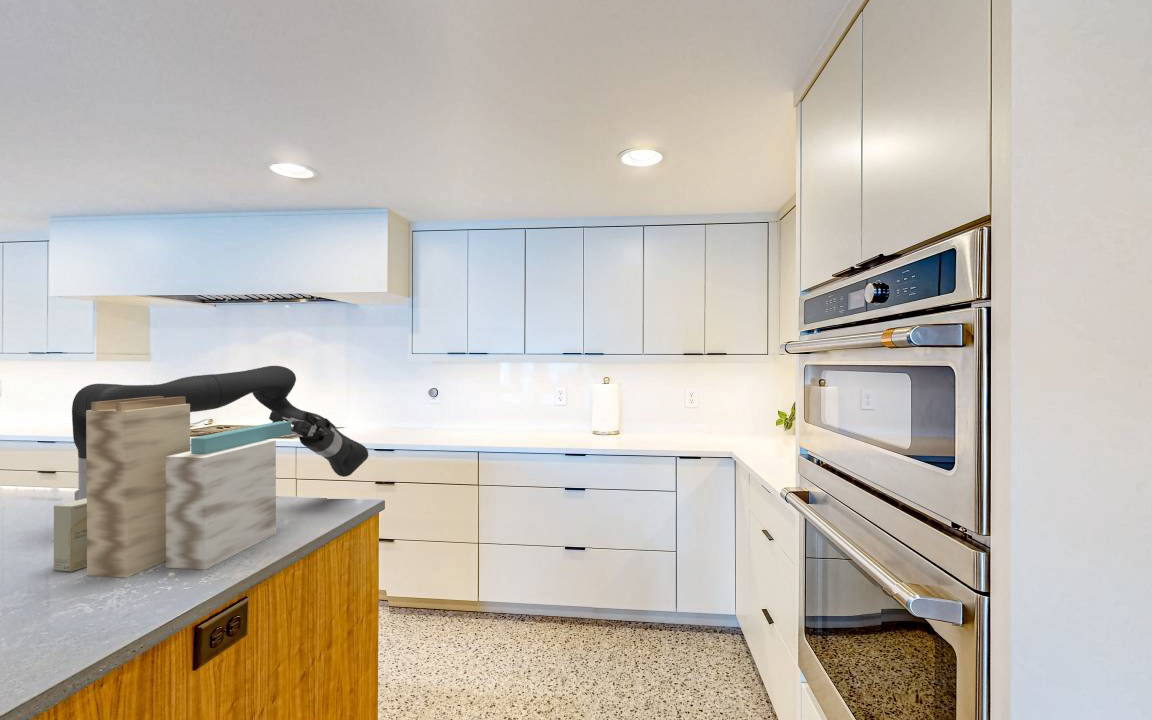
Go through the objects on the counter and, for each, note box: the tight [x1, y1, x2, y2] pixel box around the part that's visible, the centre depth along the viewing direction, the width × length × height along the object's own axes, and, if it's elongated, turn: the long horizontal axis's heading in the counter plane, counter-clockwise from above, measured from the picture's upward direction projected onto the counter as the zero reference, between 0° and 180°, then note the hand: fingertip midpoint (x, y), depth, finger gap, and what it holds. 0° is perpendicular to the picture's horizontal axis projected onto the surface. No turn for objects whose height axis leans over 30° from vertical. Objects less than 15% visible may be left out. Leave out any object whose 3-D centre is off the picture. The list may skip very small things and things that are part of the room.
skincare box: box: [53, 498, 87, 572], centre depth 103 cm, size 6×4×12 cm
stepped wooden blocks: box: [86, 396, 277, 579], centre depth 110 cm, size 19×25×32 cm
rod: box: [190, 420, 292, 454], centre depth 117 cm, size 3×26×3 cm, turn 174°
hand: (288, 414), depth 131 cm, fingers open, 8 cm apart
